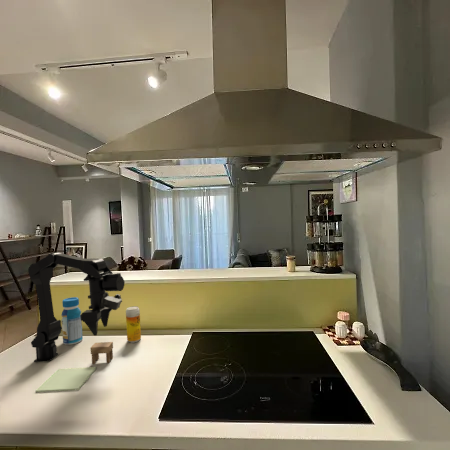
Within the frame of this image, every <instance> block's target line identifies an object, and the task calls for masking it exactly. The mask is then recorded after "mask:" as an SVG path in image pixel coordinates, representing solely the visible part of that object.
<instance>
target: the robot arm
mask: <svg viewBox="0 0 450 450" xmlns="http://www.w3.org/2000/svg"><path fill="white" fill-rule="evenodd" d="M58 265H60V266H64V267H69V268H72V269H78V270H80V271H81V272H82V273H84V274H86V277H84V278H83V281H84V282H88V286H89V287H88V288H89V295H87V299H89V300H90V301H89V303H90V305H89V306H88V309H86V310H85V311H83V312H81V315H80V319H81V321H82V322H83V323H84V324H85V325H86V326H87V327H88V329H89V331H91V333H92V335H93V336H95V337H96V336H97V335H98V331H99V330H98V329H99V321H101V323H102V325H103V327H105V328H106V327H107V326H108V322H109V317H110V313H111V312H112V311H117V310H118V309H119V308H120V307H121V304H122V302H123V299H122V297H121V294H119V293H117V294H115V295H112V296H110V295H109V293H108V292H122V291H123V290H124V288H125V280H124V278H123V276H122V275H121V272H117V273H113V271H112V270H111V269H110V267H109V266H108V265H107V263H106V261H105V260H104V259H103V258H84V257H79V256H75V255H69V254H64V253H62V252H59V251H57V252H51V253H49V254H48V255H46V256H45V257H43V258H42V259H40V260H38V261H36V262H34V263H31V264H30V265H29V267H28V268H27V269H28V270H27V272H28V276H29V279H30V281H31V282H32V283H33V284H34V285H35V291H36V299H37V306H38V313H39V321H38V324H37V327H36V336H35V337H34V338H33V339H32V341H31V342H30V344H31V347H32V348H35V354H36V356H35V359H34V360H33V362H34V363H38V362H39V363H40V362H50V361H52V360H53V359H54V358H55V357H57V356H58V355H59V352H58V348H57V347H58V346H57V344H56V341H58V339H59V337H60V335H61V333H62V322H61V320H62V319H57V318H56V317H55V314H54V304H53V298H52V297H53V296H52V288H51V281H52V278H53V274H54V269H55V268H56V267H57V266H58Z"/></svg>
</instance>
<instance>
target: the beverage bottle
mask: <svg viewBox="0 0 450 450" xmlns="http://www.w3.org/2000/svg"><path fill="white" fill-rule="evenodd" d="M61 303H62V308H63V310H62V312H61V319H60V320H61V327H62V329H61V333H62V343H63V345H66V346H71V345H76V344H79V343H80V342H81V341H83V339H84V338H83V323H82V322H83V321H81V319H80V315H81V314H82V311H81V309H80V307H79V305H80V299H79V298H78V297H75V296H74V297H67V298H64V299H62V302H61Z"/></svg>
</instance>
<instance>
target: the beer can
mask: <svg viewBox="0 0 450 450" xmlns="http://www.w3.org/2000/svg"><path fill="white" fill-rule="evenodd" d="M140 314H141V313H140V308H139V306H129V307H127V308H126V309H125V322H126V323H125V324H126V326H125V327H126V339H127V341H128V342H129V343H132V344H133V343H137V342H139V341H140V340H141V339H142V331H141V329H142V328H141V315H140Z"/></svg>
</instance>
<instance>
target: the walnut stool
mask: <svg viewBox="0 0 450 450" xmlns="http://www.w3.org/2000/svg"><path fill="white" fill-rule="evenodd" d="M113 348H114V342H113V341H107V342H106V341H104V342H94V343H93V344H92V345H91V346H90V348H89V349H90V354H91V364H92V365H95V364H96V363H97V362H96V361H98V360H100V355H101V354H105V356H106V357H105V359H106V364H109V363H110V362H111V360H113V358H114V355H113V354H114V353H113Z"/></svg>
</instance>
